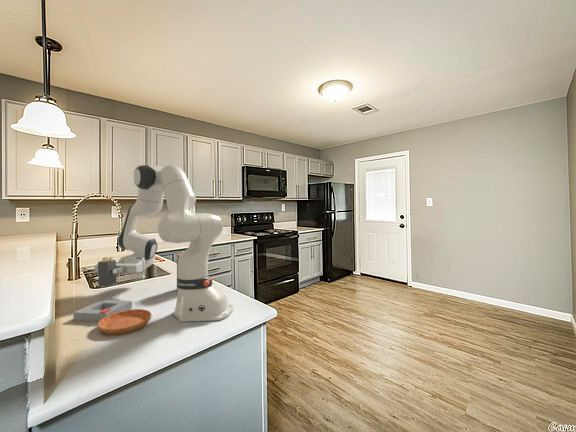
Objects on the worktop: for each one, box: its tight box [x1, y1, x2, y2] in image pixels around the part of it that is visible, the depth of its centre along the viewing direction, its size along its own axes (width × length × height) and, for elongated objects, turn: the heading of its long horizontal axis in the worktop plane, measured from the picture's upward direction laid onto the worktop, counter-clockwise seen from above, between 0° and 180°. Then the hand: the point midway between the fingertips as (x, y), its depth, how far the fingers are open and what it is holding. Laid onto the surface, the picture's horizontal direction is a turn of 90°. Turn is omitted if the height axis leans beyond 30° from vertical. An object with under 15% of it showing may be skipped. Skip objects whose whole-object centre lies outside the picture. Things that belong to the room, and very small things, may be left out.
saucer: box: [96, 308, 152, 336], centre depth 90 cm, size 16×16×3 cm
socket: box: [73, 299, 133, 323], centre depth 100 cm, size 13×13×4 cm
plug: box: [97, 256, 117, 287], centre depth 112 cm, size 4×4×12 cm
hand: (105, 271), depth 111 cm, fingers closed on plug, 4 cm apart
